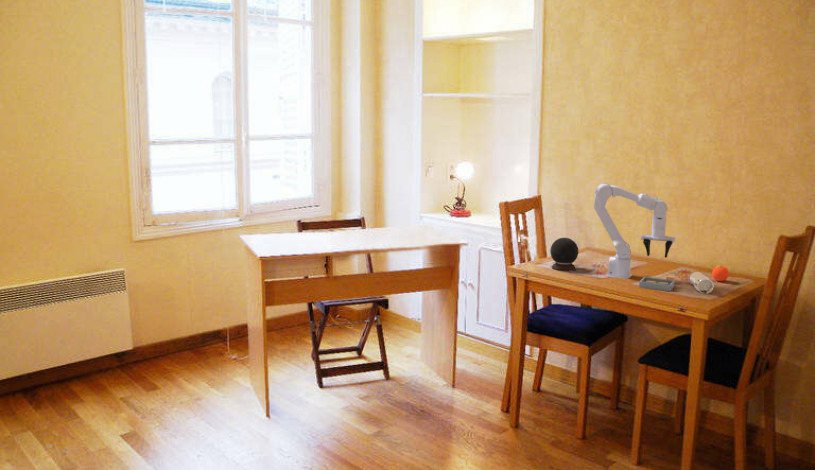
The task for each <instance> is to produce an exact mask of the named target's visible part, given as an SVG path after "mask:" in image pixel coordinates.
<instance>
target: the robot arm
mask: <svg viewBox="0 0 815 470" xmlns="http://www.w3.org/2000/svg"><path fill="white" fill-rule="evenodd" d="M611 197H612V198H615V197H622V198H625V199H627V200H631V201H633V202H635V203H636V205H637V206H638V207H641V208H644V209H646V210H650V211H653V213H652V221H651V222H652V223H651V234H641V236H640V238H641V240H642V243H643V245H644V247H645V250H646V256H647V257H650V254H651V250H650V249H651V241H658V242H665V244H664V245H665V246H664V247H665V250H664V258H666V259H667V258H668V256H669V255H668V254H669V252H670V249H671V246H672V245H673V243H676V237H673V236H667V235H666V228H667V227H666V226H667V225H666V222H667V211H668V205H667V203H666V201H664V200H663V199H660V198H658V197H653V196H650V195H649V194H648V193H647V192H644V193H640V194H637V193H635V192H632V191H629V190H627V189H625V188H623V187H621V186H617V185H614V184H609V183H607V182H606V183H605V182H602V183H600V184H598V185H597V188H596V190H595V193H594V202H593V209H594V210H595V212H596V214H597V216H598V218H599V220H600V221H601V223H602V225H603V227H604V228H605V229H604V230H605V231H606V232H607V234H608V236H609V238H610V240H611V241H612V244H613V245H614V247H615V253H616V254H615V255H614V256H610V257H609V259H608V271H607V277H608V278H609V277H613V278H620V279H626V280H627V279H630V278H631V277H632V276H633V274H631V264H632V263H631V261H632V256H631V253H632V250H631V247H630V244H629V243H628V242H627V241H626V240H624V238H623V236H622V235H621V233H620V231H619V229H618V228H617V226H616V224H615V222H614V220H613V219H612V217H611V215H610V213H609V212H608V209H607V208H606V205H607V202H608V200H609V199H610V198H611Z"/></svg>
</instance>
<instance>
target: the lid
mask: <svg viewBox="0 0 815 470" xmlns="http://www.w3.org/2000/svg"><path fill="white" fill-rule="evenodd" d="M666 280H674V281H675V282H676V275H673V274H672V275H671V274H668V275H667V276H666Z"/></svg>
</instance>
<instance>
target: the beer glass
mask: <svg viewBox="0 0 815 470" xmlns="http://www.w3.org/2000/svg"><path fill="white" fill-rule="evenodd" d="M689 282H690V283H691V284H692V285H693V286H694V289H695V290H696V291H697V292H699V293H701V294H703V292H705V291H706V294H709V293H711V292H712V291H713V289H714V283H713V281H712V280H711V279H710V278H709V277H708V276H706V275H704V274H703V273H702V272H700V271H695V272H692V273H691V274H690V275H689ZM702 291H703V292H702Z"/></svg>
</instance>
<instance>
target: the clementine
mask: <svg viewBox="0 0 815 470" xmlns="http://www.w3.org/2000/svg"><path fill="white" fill-rule="evenodd" d="M712 269H713V270H712V273H711V275H712V278H713V279H714V280H716V281H717V282H724V281H726V280H727V279H728V278H729V275H730V273H729V270H728V268H726V266H723V265H715V266H714V267H713V268H712Z"/></svg>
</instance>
